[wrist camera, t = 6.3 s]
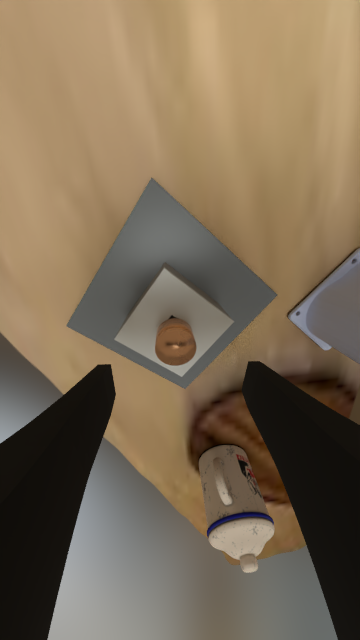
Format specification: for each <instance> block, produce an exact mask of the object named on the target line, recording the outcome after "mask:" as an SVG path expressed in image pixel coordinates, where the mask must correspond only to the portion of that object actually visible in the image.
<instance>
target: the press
mask: <svg viewBox="0 0 360 640" xmlns="http://www.w3.org/2000/svg"><path fill="white" fill-rule="evenodd" d="M276 296H277V294H276V293H275V292H274V291H273V290H272V289H271V288H270V287H268V286H267V285H266V284H265V283H264V282H263V281H262V280H261V279H260V278H259V277H258V276H257V275H256V274H254V273H253V272H252V271H251V270H250V269H249V268H248V267H247V266H246V265H245V264H244V263H243V262H242V261H241V260H239V259H238V258H237V257H236V256H235V255H234V254H233V253H232V252H231V251H230V250H229V249H228V248H227V247H226V246H224V245H223V244H222V243H221V242H220V241H219V240H218V239H217V238H216V237H215V236H214V235H213V234H212V233H211V232H209V231H208V230H207V229H206V228H205V227H204V226H203V225H202V224H201V223H200V222H199V221H198V220H197V219H195V218H194V217H193V216H192V215H191V214H190V213H189V212H188V211H187V210H186V209H185V208H184V207H183V206H182V205H180V204H179V203H178V202H177V201H176V200H175V199H174V198H173V197H172V196H171V195H170V194H169V193H168V192H167V191H165V190H164V189H163V188H162V187H161V186H160V185H159V184H158V183H157V182H156V181H155V180H154V179H153V178H151V180H150V181H149V183H148V185H147V187H146V188H145V190H144V192H143V193H142V195H141V197H140V199H139V200H138V202H137V204H136V206H135V207H134V209H133V211H132V213H131V214H130V216H129V218H128V220H127V221H126V223H125V225H124V227H123V228H122V230H121V232H120V233H119V235H118V237H117V239H116V240H115V242H114V244H113V246H112V247H111V249H110V251H109V253H108V254H107V256H106V258H105V260H104V261H103V263H102V265H101V267H100V268H99V270H98V272H97V273H96V275H95V277H94V279H93V280H92V282H91V284H90V286H89V287H88V289H87V291H86V293H85V294H84V296H83V298H82V300H81V301H80V303H79V305H78V307H77V308H76V310H75V312H74V313H73V315H72V317H71V319H70V320H69V322H68V324H67V327H69V328H71V329H73V330H75V331H77V332H79V333H80V334H82V335H84V336H86V337H88V338H90V339H92V340H94V341H96V342H97V343H99V344H101V345H103V346H105V347H107V348H109V349H111V350H113V351H114V352H116V353H118V354H120V355H122V356H124V357H126V358H128V359H130V360H131V361H133V362H135V363H137V364H139V365H141V366H143V367H145V368H147V369H148V370H150V371H152V372H154V373H156V374H158V375H160V376H162V377H163V378H165V379H167V380H169V381H171V382H173V383H175V384H177V385H179V386H180V387H182V388H184V389H185V388H186V387H187V386H188V385H189V384H190V383H191V382H192V381H193V380H194V379H195V378H196V377H197V376H198V375H199V374H200V373H201V372H202V371H203V370H204V369H205V368H206V367H207V366H208V365H209V364H210V363H211V362H212V361H213V360H214V359H215V358H216V357H217V356H218V355H219V354H220V353H221V352H222V351H223V350H224V349H225V348H226V347H227V346H228V345H229V344H230V343H231V342H232V341H233V340H234V339H235V338H236V337H237V336H238V335H239V334H240V333H241V332H242V331H243V330H244V329H245V328H246V327H247V326H248V325H249V324H250V323H251V321H252V320H253V319H254V318H255V317H256V316H257V315H258V314H259V313H260V312H261V311H262V310H263V309H264V308H265V307H266V306H267V305H268V304H269V303H270V302H271V301H272V300H273V299H274V298H275V297H276ZM171 315H173V316H174V317H176V318H178V319H182V320H184V321H186V322H187V323H188V324H189V325H190V326H191V328H192V331H193V335H194V338H195V342H196V347H197V349H196V353H195V355H194V357H193V358H192V359H191V360H190V361H189V362H187V363H185V364H183V365H179V366H171V365H167V364H165V363H163V362H162V361H160V360H159V359H158V357H157V355H156V353H155V343H156V334H157V329H158V327H159V326H160V325H161V323H163V322H164V321H166V320H168V319H169V318H170V316H171Z"/></svg>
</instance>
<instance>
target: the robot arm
mask: <svg viewBox="0 0 360 640" xmlns="http://www.w3.org/2000/svg"><path fill="white" fill-rule="evenodd" d="M352 260H353V261H352ZM297 312H298V313H297ZM296 313H297V314H296ZM288 318H289V319H290V320H291V321H292V322H293V323H294V324H295V325H296V326H297V327H298V328H300V329H301V330H302V331H303V332H304V333H305V334H306V335H307V336H309V337H310V338H311V339H312V340H313V341H314V342H315V343H316V344H317V345H319V346H320V347H321V348H322V349H323V350H329V349H330V348H331V347H333V348H335V349H336V350H338V351H340V352H341V353H343V354H344V355H346V356H348V357H349V358H351V359H352V360H354V361H355V362H357V363H359V364H360V248H358V249H357V250H356V251H355V252H354V253H353V254H352V255H351V256H350V257H349V258H348V259H347V260H345V261H344V262H343V263H342V264H341V265H340V266H339V267H338V268H337V269H336V270H335V271H334V272H333V273H332V274H331V275H330V276H329V277H328V278H327V279H325V280H324V281H323V282H322V283H321V284H320V285H319V286H318V287H317V288H316V289H315V290H314V291H313V292H312V293H311V294H310V295H309V296H308V297H307V298H305V299H304V300H303V301H302V302H301V303H300V304H299V305H298V306H297V307H296V308H295V309H294V310H293V311H292V312H291V313H290V314H289V315H288ZM242 393H243V396H244V399H245V401H246V404H247V407H248V409H249V412H250V414H251V416H252V418H253V420H254V422H255V424H256V426H257V428H258V430H259V432H260V434H261V436H262V438H263V440H264V442H265V444H266V446H267V448H268V450H269V452H270V454H271V456H272V458H273V460H274V462H275V464H276V467H277V469H278V471H279V474H280V476H281V479H282V481H283V484H284V486H285V489H286V491H287V494H288V496H289V499H290V502H291V504H292V507H293V509H294V512H295V515H296V517H297V520H298V523H299V525H300V528H301V531H302V534H303V536H304V539H305V542H306V545H307V548H308V550H309V553H310V556H311V558H312V562H313V564H314V567H315V570H316V573H317V576H318V579H319V582H320V585H321V588H322V591H323V594H324V597H325V600H326V603H327V606H328V609H329V612H330V615H331V619H332V622H333V625H334V628H335V631H336V635H337V637H338V640H360V425H358V424H357V423H355V422H353V421H351V420H350V419H348V418H346V417H344V416H342V415H341V414H339V413H337V412H336V411H334V410H332V409H331V408H329V407H327V406H326V405H324V404H323V403H321V402H319V401H318V400H316V399H315V398H313V397H311V396H310V395H308V394H307V393H305V392H304V391H302V390H301V389H299V388H298V387H296V386H295V385H293V384H292V383H291V382H289V381H288V380H286V379H285V378H283V377H282V376H280V375H279V374H278V373H276V372H275V371H273V370H272V369H270V368H269V367H267V366H266V365H264V364H263V363H261V362H260V361H251V362H248V365H247V369H246V374H245V378H244V382H243V386H242ZM115 395H116V393H115V387H114V381H113V375H112V369H111V364H105V365H97V366H96V367H95V368H94V369H93V370H92V371H90V372H89V373H88V374H87V375H86V376H85V377H84V378H83V379H82V380H80V381H79V382H78V383H77V384H76V385H75V386H74V387H72V388H71V389H70V390H69V391H68V392H67V393H66V394H64V395H63V396H62V397H61V398H60V399H58V400H57V401H56V402H55V403H54V404H52V405H51V406H50V407H49V408H47V409H46V410H45V411H44V412H42V413H41V414H40V415H39V416H37V417H36V418H35V419H34V420H32V421H31V422H30V423H28V424H27V425H26V426H24V427H23V428H21V429H20V430H19V431H17V432H16V433H15V434H13V435H12V436H10V437H9V438H8V439H6V440H5V441H3V442H2V443H0V640H47V638H48V634H49V630H50V625H51V621H52V617H53V612H54V608H55V604H56V599H57V595H58V591H59V587H60V583H61V579H62V575H63V571H64V567H65V563H66V559H67V554H68V551H69V547H70V543H71V539H72V535H73V531H74V528H75V524H76V520H77V516H78V513H79V509H80V505H81V502H82V498H83V495H84V491H85V487H86V484H87V480H88V477H89V474H90V471H91V468H92V465H93V463H94V460H95V457H96V454H97V452H98V449H99V446H100V444H101V441H102V438H103V435H104V433H105V430H106V427H107V424H108V421H109V419H110V416H111V412H112V408H113V404H114V400H115Z"/></svg>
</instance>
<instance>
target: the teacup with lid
mask: <svg viewBox="0 0 360 640" xmlns="http://www.w3.org/2000/svg"><path fill="white" fill-rule="evenodd" d="M199 470H200V476H201V483H202V490H203V497H204V504H205V511H206V518H207V525H208V530H207V536H208V538H209V541H210V543H211V545H212V546H213V547H214V548H216V549H219V550H223V551H225V552H226V553H227V554H228V555H230V556H231V557H233V558H235V559H239V560H240V563H241V567H242V570H243V571H244V572H246V573H250V572H254V571H256V570H257V569H258V563H257V560H256V557H255V556H257V555H258V554H260V553H261V551H262V549H263V547H264V545H265V543H266V542H267V541H268V540H269V539H270V538H271V537H272V536H273V534H274V522H273V519H272V518H271V517H270V516H269V514H268V511H267V508H266V506H265V503H264V500H263V498H262V495H261V492H260V490H259V487H258V484H257V482H256V479H255V476H254V474H253V471H252V468H251V466H250V463H249V460H248V458H247V455H246V453H245V451H244V450H243V449H241V448H240V447H238V446H234V445H220V446H216V447H213V448H211V449H209V450H207V451H206V452H205V453H203V454H202V456H201V457H200V459H199Z"/></svg>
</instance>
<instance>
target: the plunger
mask: <svg viewBox="0 0 360 640" xmlns="http://www.w3.org/2000/svg"><path fill="white" fill-rule="evenodd" d="M196 349H197V347H196V342H195V338H194V335H193V331H192V328H191V326H190V325H189V324H188V323H187V322H186V321H184V320H182V319H178V318H176V317H174V316H173V315H171V316H170V318H169V319H168V320H166V321H164V322H163V323H161V325H160V326H159V327H158V329H157V334H156V343H155V353H156V355H157V357H158V359H159V360H160V361H162V362H163V363H165V364H167V365H171V366H179V365H183V364H185V363H187V362H189V361H190V360H191V359H192V358H193V357H194V355H195V353H196Z"/></svg>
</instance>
